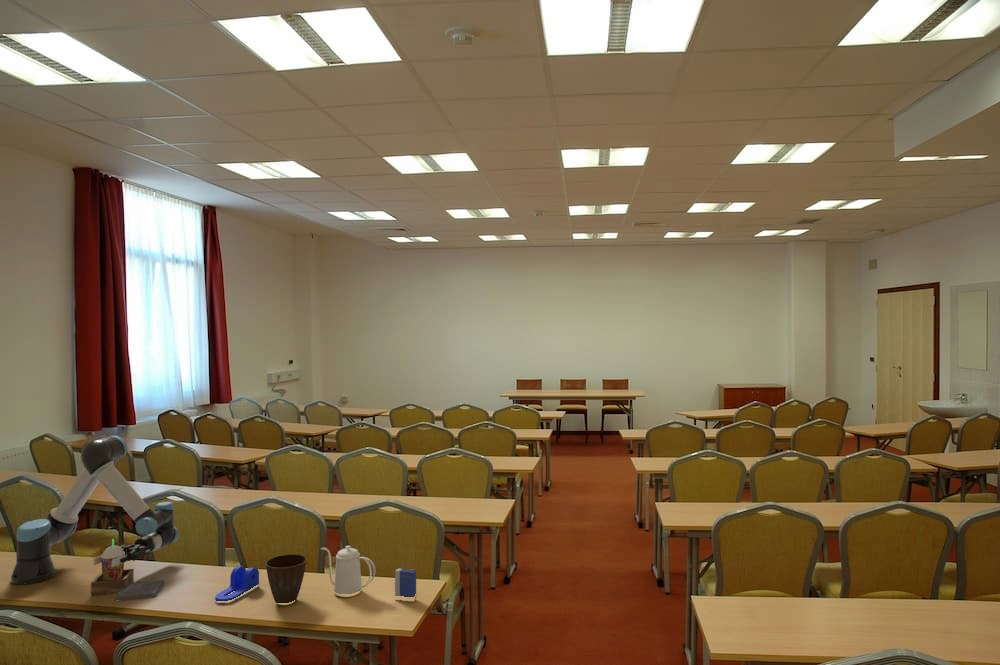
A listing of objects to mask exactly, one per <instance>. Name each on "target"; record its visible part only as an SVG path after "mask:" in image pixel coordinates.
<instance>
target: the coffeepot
mask: <svg viewBox="0 0 1000 665" xmlns="http://www.w3.org/2000/svg"><path fill="white" fill-rule="evenodd" d="M320 550H323V551H326V553H327V555H328V556H327V557H328V566H329V567H328V569H329V570H328V571H329V580H330V582H331V584H332V585H333V592H334V591H335V592H336V593H338V594H352V593H355V592H358V591H360V590H361V588H362V589H363V588H365V587H366V586H368V585H369V584H370V583H372V581H373V580H374V578H375V575H376V565H375V563H374V561H372V560H371V559H370V558H368V557H366V556H361V553H360V552H359V551H358V550H359V549H357V548H354V547H352V546H351V545H345V548H342V549H340V550H338V551H337V554H335V559H336V562H335V572H334V574H335V576H334V579H333V571H332V555H331V551H330V550H329V549H328V548H326V547H320ZM361 560H363V561H364V562H365V563H366V565H367V566H368V568H369V577H368V580H367V582H366V583H365V584H364V585H362V584H363V583H362V574H361V571H362V570H361ZM372 568H373V569H372ZM372 570H373V571H372Z"/></svg>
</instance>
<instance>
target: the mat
mask: <svg viewBox="0 0 1000 665" xmlns="http://www.w3.org/2000/svg"><path fill="white" fill-rule="evenodd" d="M164 584H165V580H164V579H160V580H148V581H141V582H140V581H139V582H138V581H137V582H132V583H129V584H128V585H127V586H126V588H122V589H121V591H120V592H119V593H116V596H115V597H114V602H117V601H116V600H123V601H129V600H130V601H131V600H139V599H140V600H141V599H147V598H156V596H157V595H158V594H159V592H160V591H161V589H162V587H163V586H164Z"/></svg>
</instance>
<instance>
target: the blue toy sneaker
mask: <svg viewBox="0 0 1000 665" xmlns="http://www.w3.org/2000/svg"><path fill="white" fill-rule="evenodd" d="M229 582H230V584H229V587H227V588H225V589H224V590H222V591H220V592H218V593H216V594H215V596H214V598H215V599H214V601H215V600H216V601H228V600H232V599H234V598H236V597H238V596H240V595H241V594H243V593H244V592H246V591H248V590H250V589H251V588H253V587H254V586H256V585H258V584H259V585H260V571H259V569H258V568H257V567H251V566H250V567H248V568H247V569H246V567H245V566H243V565H237V566H234V568H233V569H232V571H231V573H230V580H229ZM233 591H235V592H233ZM231 592H233V593H232V594H230V593H231ZM228 594H230V595H228Z"/></svg>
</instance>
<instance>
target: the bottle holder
mask: <svg viewBox="0 0 1000 665" xmlns="http://www.w3.org/2000/svg"><path fill="white" fill-rule="evenodd" d="M134 571H135V570H134V568H130V569H129V568H128V569H124V570H123V579H117V580H107V581H103V577H102V571H101V572H100V573H99V574H98V575H97V576H96V577H95V578H94V579H93V580H92V581H91V582H90V596H97V595H98V596H99V595H108V593H110V594H117V593H116V592H120V591H121V589H122V588H126V586H127V585H128V584H129V583H134V575H135V574H134V573H135V572H134Z"/></svg>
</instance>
